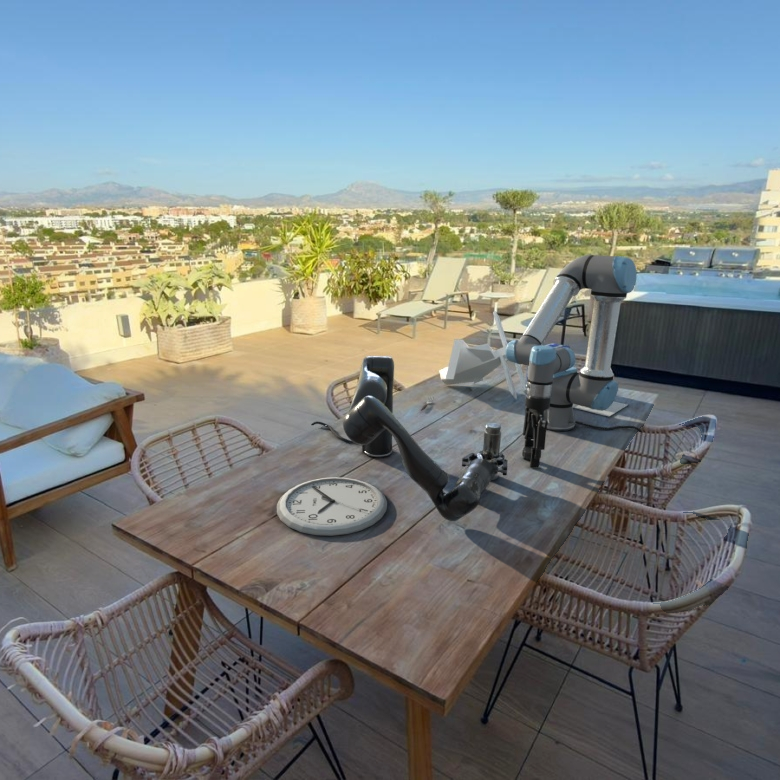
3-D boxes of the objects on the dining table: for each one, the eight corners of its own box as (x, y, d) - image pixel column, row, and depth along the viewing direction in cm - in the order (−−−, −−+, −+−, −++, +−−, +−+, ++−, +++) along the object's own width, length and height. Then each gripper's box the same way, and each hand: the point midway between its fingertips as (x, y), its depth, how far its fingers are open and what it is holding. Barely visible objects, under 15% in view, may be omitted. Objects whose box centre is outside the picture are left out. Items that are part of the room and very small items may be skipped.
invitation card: (608, 416, 214) (573, 407, 224) (608, 416, 214) (573, 408, 224) (628, 404, 229) (594, 396, 238) (628, 405, 229) (594, 397, 238)
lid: (527, 460, 167) (528, 454, 166) (518, 453, 172) (519, 447, 171) (544, 459, 168) (544, 452, 167) (535, 452, 173) (535, 445, 173)
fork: (417, 411, 216) (418, 406, 216) (428, 400, 231) (428, 395, 230) (423, 412, 215) (424, 407, 215) (434, 400, 230) (434, 396, 229)
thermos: (478, 473, 163) (482, 422, 158) (493, 472, 164) (497, 421, 159) (484, 480, 158) (488, 428, 153) (499, 479, 159) (504, 427, 154)
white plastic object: (461, 429, 252) (437, 405, 227) (444, 352, 274) (420, 323, 250) (535, 404, 240) (518, 377, 215) (510, 326, 262) (492, 293, 237)
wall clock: (392, 527, 129) (268, 531, 127) (391, 533, 130) (269, 537, 127) (383, 473, 158) (282, 475, 155) (383, 478, 158) (282, 480, 156)
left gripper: (503, 469, 143) (517, 447, 157) (453, 459, 149) (471, 438, 163) (501, 494, 145) (515, 470, 160) (452, 483, 151) (469, 460, 165)
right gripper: (517, 386, 172) (510, 451, 179) (537, 405, 155) (529, 476, 161) (539, 386, 173) (531, 450, 180) (562, 404, 155) (553, 475, 162)
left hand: (492, 454), depth 161 cm, fingers closed on thermos, 5 cm apart
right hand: (530, 462), depth 171 cm, fingers closed on lid, 6 cm apart
